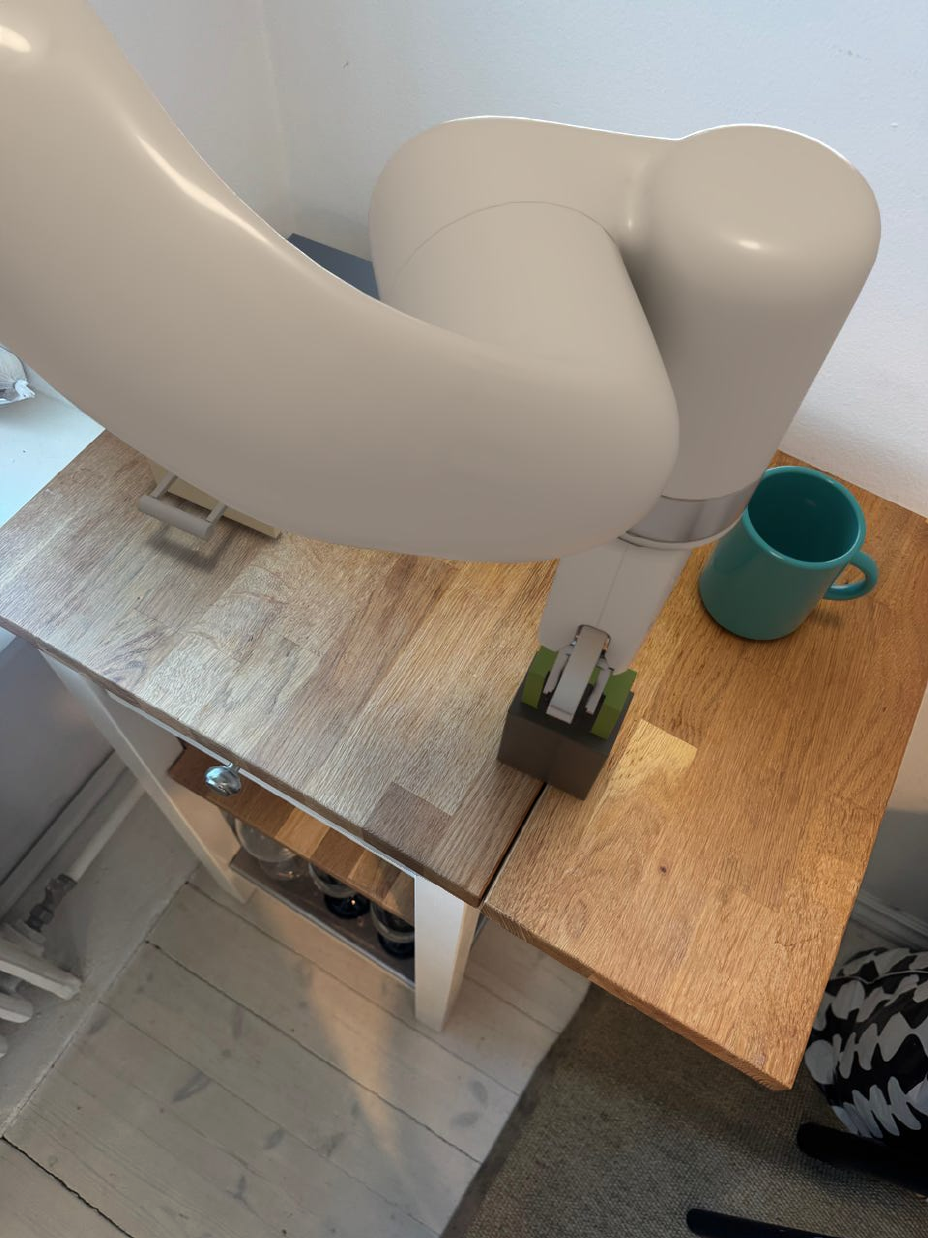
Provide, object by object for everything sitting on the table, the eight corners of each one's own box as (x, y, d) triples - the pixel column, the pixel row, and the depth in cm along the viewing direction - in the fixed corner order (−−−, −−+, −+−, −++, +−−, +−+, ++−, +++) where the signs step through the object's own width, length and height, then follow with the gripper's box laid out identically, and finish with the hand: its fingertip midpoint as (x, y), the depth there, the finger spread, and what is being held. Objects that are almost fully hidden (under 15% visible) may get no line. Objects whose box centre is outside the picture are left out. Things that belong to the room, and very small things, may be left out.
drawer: (244, 582, 71) (229, 533, 65) (123, 528, 72) (97, 475, 67) (355, 425, 79) (351, 369, 73) (244, 380, 81) (231, 322, 75)
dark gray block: (495, 760, 65) (507, 711, 57) (522, 703, 68) (537, 649, 60) (584, 801, 64) (608, 757, 56) (608, 742, 66) (635, 692, 59)
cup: (835, 670, 70) (903, 597, 61) (686, 623, 72) (730, 545, 62) (848, 578, 75) (914, 497, 65) (708, 536, 76) (751, 450, 66)
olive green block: (520, 701, 58) (528, 671, 54) (538, 664, 59) (547, 632, 55) (606, 740, 57) (621, 712, 53) (622, 701, 58) (638, 671, 54)
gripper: (651, 293, 41) (590, 512, 56) (497, 581, 33) (474, 747, 48) (810, 348, 40) (704, 558, 55) (689, 661, 32) (604, 806, 47)
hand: (596, 646), depth 51 cm, fingers open, 9 cm apart
